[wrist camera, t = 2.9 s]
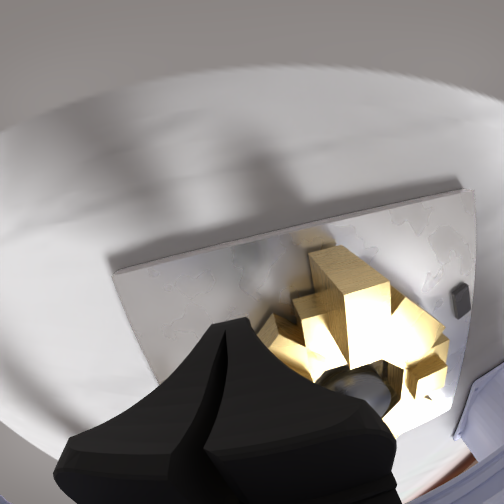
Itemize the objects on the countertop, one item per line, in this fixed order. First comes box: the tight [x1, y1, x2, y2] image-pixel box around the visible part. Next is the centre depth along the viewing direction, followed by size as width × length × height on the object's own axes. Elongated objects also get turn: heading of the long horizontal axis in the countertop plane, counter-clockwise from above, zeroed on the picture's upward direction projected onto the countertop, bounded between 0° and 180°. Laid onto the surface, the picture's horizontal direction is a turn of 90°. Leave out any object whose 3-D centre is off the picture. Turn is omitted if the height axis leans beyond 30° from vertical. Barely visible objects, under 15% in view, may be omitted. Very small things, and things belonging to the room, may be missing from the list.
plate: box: [111, 188, 476, 433], centre depth 15 cm, size 18×20×4 cm
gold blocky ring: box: [257, 245, 450, 439], centre depth 13 cm, size 14×12×5 cm
